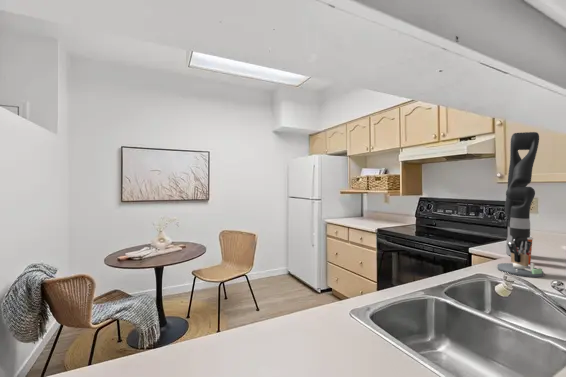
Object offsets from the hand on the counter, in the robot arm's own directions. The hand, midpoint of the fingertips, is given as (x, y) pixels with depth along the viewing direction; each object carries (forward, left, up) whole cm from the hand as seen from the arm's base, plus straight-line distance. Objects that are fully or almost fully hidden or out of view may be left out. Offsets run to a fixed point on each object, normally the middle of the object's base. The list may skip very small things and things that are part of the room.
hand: (519, 261), depth 131 cm
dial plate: (0, 0, -5) cm, 5 cm away
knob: (+2, 0, -3) cm, 3 cm away
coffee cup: (-15, +13, -5) cm, 21 cm away
